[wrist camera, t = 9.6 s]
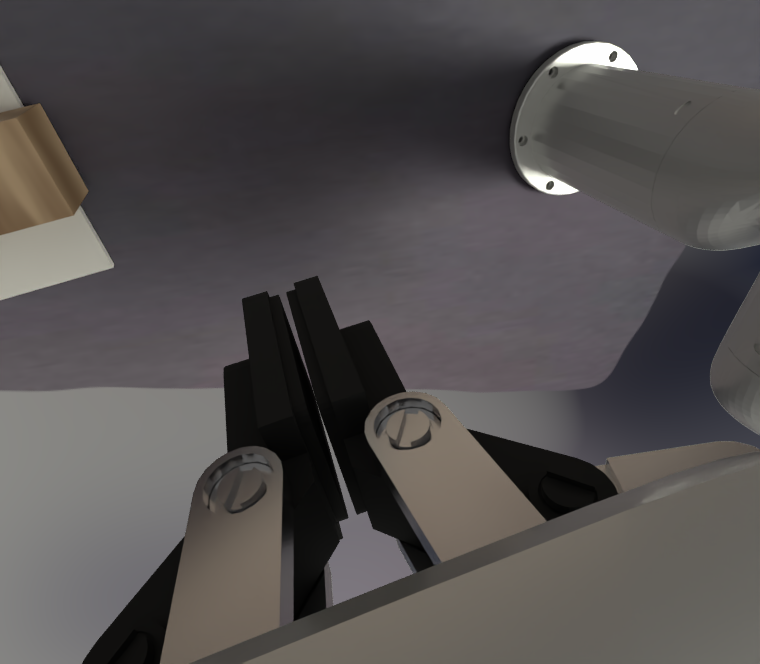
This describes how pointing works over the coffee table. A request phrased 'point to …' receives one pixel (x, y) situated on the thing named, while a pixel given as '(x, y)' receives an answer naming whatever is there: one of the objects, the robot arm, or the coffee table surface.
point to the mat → (47, 241)
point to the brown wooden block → (35, 172)
